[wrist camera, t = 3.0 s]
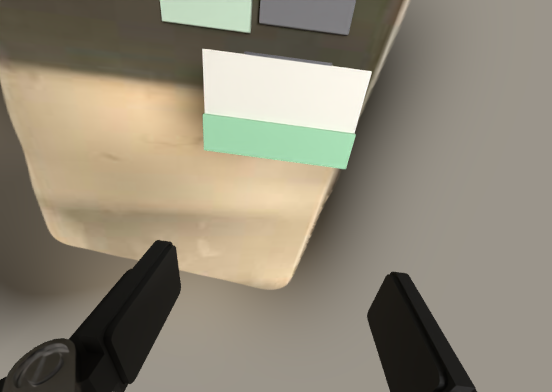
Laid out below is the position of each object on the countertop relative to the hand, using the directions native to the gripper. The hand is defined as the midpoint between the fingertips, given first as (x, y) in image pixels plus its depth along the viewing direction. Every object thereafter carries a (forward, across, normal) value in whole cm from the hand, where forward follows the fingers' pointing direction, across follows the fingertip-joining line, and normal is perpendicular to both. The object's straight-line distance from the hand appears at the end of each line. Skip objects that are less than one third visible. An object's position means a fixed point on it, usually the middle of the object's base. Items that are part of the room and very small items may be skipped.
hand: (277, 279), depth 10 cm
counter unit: (+24, +1, -6) cm, 25 cm away
